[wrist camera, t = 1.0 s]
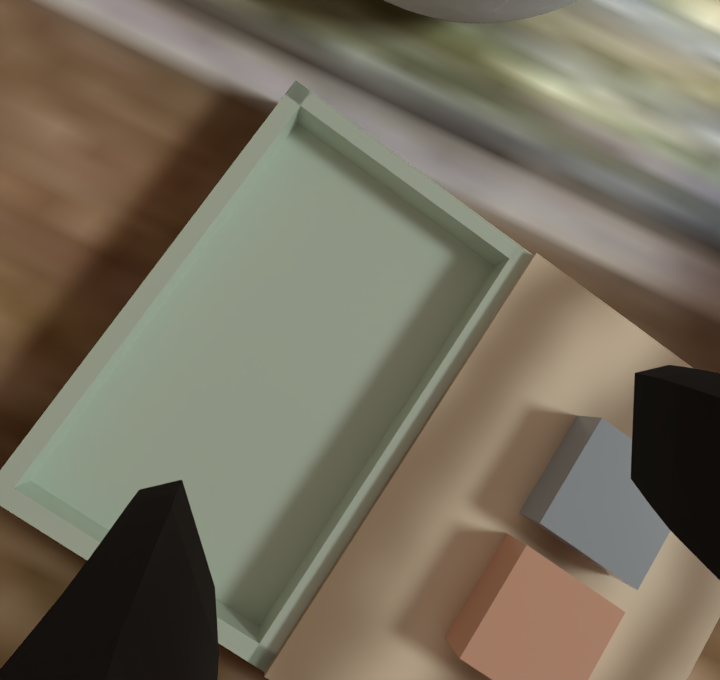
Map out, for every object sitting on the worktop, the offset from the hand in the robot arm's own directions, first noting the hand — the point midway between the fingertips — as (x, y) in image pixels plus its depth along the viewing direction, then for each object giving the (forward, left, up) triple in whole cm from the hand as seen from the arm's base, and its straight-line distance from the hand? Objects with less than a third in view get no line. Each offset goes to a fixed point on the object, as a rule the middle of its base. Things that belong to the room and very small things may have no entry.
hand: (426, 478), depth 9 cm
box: (+3, -1, -19) cm, 19 cm away
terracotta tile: (-12, +2, -16) cm, 20 cm away
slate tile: (-12, -4, -16) cm, 20 cm away
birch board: (-12, -1, -19) cm, 22 cm away
